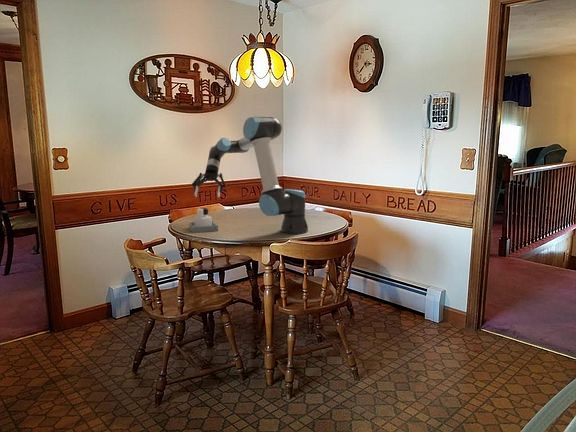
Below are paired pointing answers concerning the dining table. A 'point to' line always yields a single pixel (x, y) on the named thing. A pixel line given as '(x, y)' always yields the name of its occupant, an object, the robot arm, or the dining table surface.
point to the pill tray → (203, 227)
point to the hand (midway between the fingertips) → (206, 196)
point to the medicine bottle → (202, 218)
